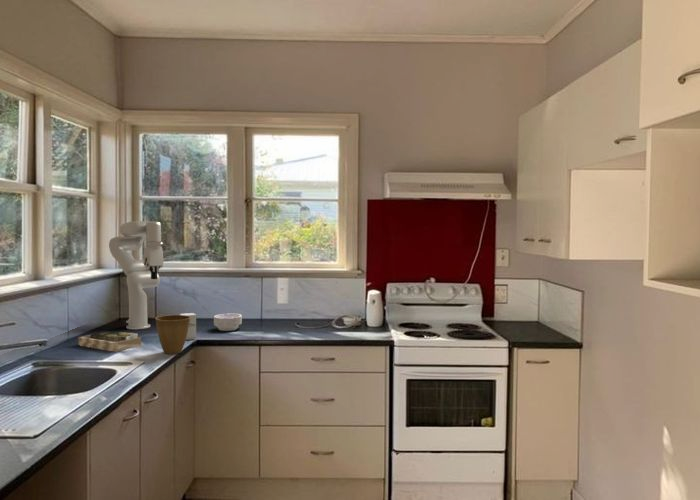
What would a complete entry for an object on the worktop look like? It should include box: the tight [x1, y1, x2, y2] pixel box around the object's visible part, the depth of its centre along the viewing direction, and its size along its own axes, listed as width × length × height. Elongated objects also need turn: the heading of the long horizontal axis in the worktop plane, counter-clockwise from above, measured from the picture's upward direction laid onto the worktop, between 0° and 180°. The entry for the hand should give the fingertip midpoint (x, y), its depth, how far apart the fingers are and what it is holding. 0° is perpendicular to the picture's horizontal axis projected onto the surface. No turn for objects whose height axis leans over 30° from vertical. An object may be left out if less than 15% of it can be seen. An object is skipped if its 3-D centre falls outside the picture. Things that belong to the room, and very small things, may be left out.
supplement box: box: [178, 312, 197, 341], centre depth 259 cm, size 7×7×13 cm
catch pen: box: [77, 334, 142, 353], centre depth 243 cm, size 26×14×4 cm, turn 62°
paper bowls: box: [213, 312, 243, 332], centre depth 283 cm, size 15×15×8 cm
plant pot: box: [155, 314, 190, 355], centre depth 230 cm, size 15×15×16 cm
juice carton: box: [89, 330, 138, 342], centre depth 245 cm, size 20×10×6 cm, turn 81°
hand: (154, 278), depth 272 cm, fingers closed
